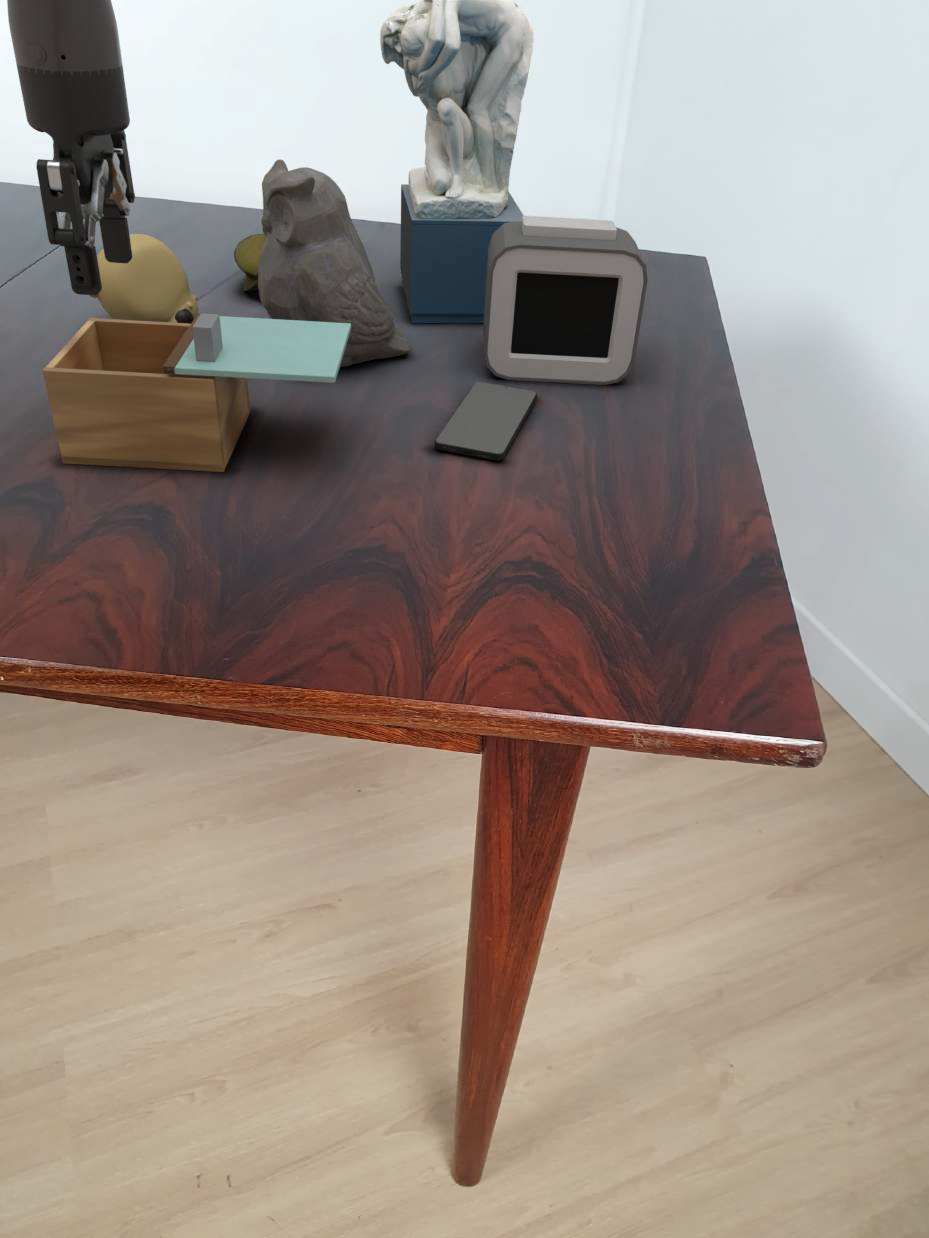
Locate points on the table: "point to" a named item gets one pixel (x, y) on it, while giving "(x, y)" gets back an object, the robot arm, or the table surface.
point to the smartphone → (486, 421)
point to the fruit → (250, 259)
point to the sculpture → (458, 145)
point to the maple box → (140, 401)
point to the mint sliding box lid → (260, 349)
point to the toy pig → (146, 285)
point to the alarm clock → (563, 301)
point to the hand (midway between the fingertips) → (104, 277)
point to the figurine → (321, 264)
